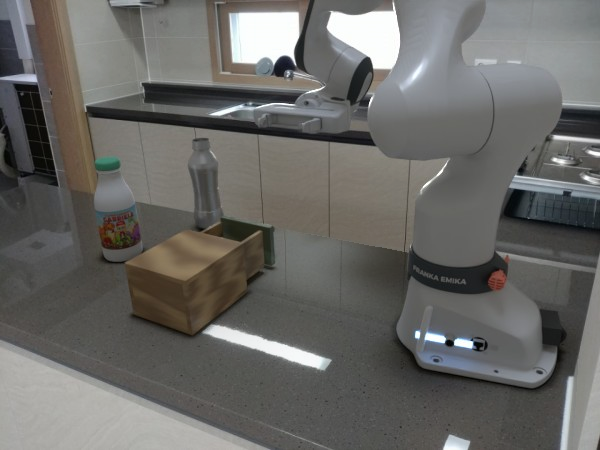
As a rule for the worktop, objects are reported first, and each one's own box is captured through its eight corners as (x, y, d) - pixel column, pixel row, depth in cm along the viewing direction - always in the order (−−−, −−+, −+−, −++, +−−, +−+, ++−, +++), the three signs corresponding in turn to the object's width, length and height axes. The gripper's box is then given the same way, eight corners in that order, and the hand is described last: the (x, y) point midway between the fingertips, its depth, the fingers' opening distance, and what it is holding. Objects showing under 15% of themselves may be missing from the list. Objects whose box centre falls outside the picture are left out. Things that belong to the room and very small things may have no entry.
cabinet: (192, 276, 100) (186, 229, 96) (247, 292, 94) (243, 242, 90) (133, 314, 88) (124, 262, 84) (192, 335, 82) (185, 280, 78)
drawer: (240, 242, 111) (237, 207, 107) (287, 253, 105) (286, 217, 102) (181, 280, 96) (176, 241, 93) (232, 296, 91) (228, 255, 88)
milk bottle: (97, 254, 109) (78, 159, 102) (133, 242, 114) (117, 151, 106) (113, 266, 104) (95, 168, 96) (150, 254, 109) (135, 159, 101)
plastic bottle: (219, 233, 117) (210, 144, 109) (190, 231, 119) (179, 143, 111) (228, 221, 123) (221, 136, 115) (201, 220, 124) (191, 135, 116)
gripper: (273, 94, 120) (236, 105, 109) (357, 100, 110) (325, 113, 99) (274, 122, 122) (238, 136, 111) (356, 131, 113) (326, 147, 102)
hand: (280, 125), depth 105 cm, fingers open, 8 cm apart
